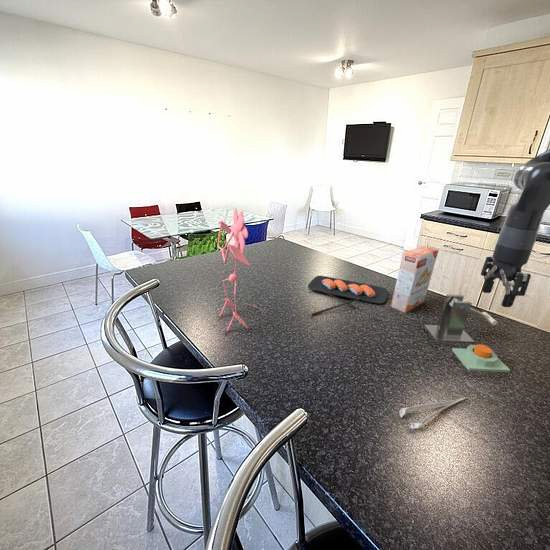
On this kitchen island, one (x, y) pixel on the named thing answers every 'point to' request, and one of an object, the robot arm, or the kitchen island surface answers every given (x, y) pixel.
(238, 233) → the figurine
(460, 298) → the bracket
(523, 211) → the robot arm
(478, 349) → the button
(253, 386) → the kitchen island surface
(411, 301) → the cracker box
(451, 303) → the lever
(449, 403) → the tweezers
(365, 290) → the sushi plate
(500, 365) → the button block
